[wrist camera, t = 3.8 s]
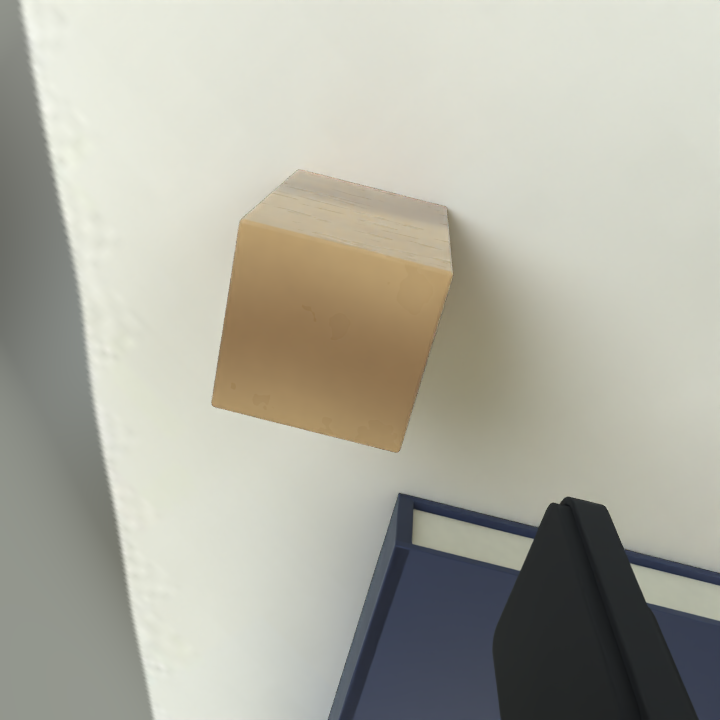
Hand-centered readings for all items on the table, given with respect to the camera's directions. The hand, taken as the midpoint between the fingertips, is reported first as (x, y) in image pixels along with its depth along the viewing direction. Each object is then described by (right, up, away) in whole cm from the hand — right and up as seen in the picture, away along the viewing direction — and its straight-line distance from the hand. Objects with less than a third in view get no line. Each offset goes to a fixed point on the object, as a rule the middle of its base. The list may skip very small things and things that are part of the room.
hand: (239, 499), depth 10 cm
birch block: (+2, +5, +12) cm, 13 cm away
